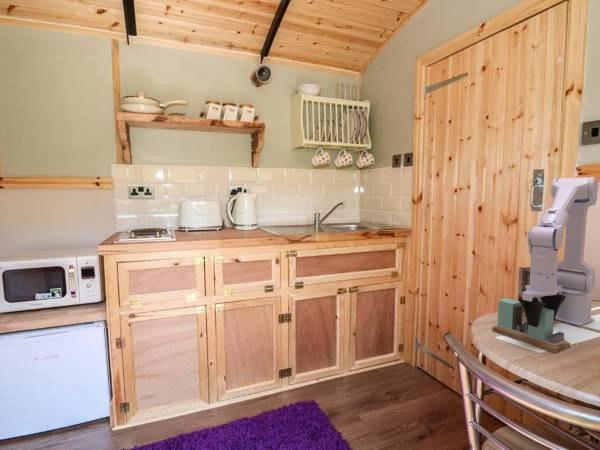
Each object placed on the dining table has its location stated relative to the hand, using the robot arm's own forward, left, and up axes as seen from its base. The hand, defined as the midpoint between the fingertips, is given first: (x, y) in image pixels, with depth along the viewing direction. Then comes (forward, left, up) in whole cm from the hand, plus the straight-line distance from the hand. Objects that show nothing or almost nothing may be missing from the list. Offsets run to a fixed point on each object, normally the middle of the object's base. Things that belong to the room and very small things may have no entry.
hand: (541, 322), depth 89 cm
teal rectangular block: (0, 0, -3) cm, 3 cm away
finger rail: (0, -3, -5) cm, 6 cm away
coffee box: (-15, -9, -6) cm, 18 cm away
